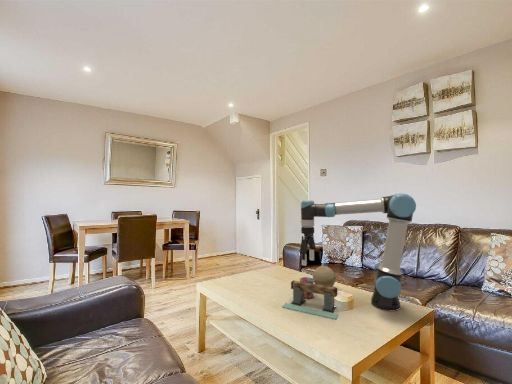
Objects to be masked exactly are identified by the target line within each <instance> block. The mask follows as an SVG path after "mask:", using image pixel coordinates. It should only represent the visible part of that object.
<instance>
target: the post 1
mask: <svg viewBox="0 0 512 384" xmlns="http://www.w3.org/2000/svg"><path fill="white" fill-rule="evenodd" d="M292 295H293V296H292V302H291V303H290V304H294V305H298V306H303V305H304V304H305V303H306V301H307V300H306V299H305V298H304V291H300V287H295V286H294V287H293V289H292Z"/></svg>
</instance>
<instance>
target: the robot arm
mask: <svg viewBox="0 0 512 384" xmlns="http://www.w3.org/2000/svg"><path fill="white" fill-rule="evenodd" d="M416 208H417V204H416V200H415V199H414V198H413V197H412V196H411V195H409V194H407V193H402V192H401V193H395V194H392V195H389V196H381V197H380V198H374V199H365V200H364V199H363V200H362V199H360V200H350V201H342V202H341V201H340V202H338V201H337V202H325V203H315V201H314V200H302V201H301V203H300V216H301V217H300V223H301V228H300V231H301V232H300V233H301V234H303V235H302V236H301V243H300V248H299V254H300V255H301V266H303V267H306V266H307V264H308V262H307V260H308V259H307V249H308V246H309V252H308V253H309V261H315V250H316V241H315V237H314V234H315V227H314V226H315V217H316V218H317V217H318V218H319V217H320V218H334V217H335V216H336V215H337V216H339V215H352V214H353V215H355V214H370V213H372V214H373V213H382V214H386V218H387V220H388V227H387V232H386V238H385V243H384V249H383V256H382V261H381V263H379V264H374V267H373V270H374V271H373V272H374V276H373V279H374V282H373V283H374V285H373V286H374V290H373V293H372V296H371V298H370V299H371V300H370V302H371V303H370V304H371V305H372V306H373V307H374V308H377V309H379V308H380V309H379V310H383V309H384V310H383V311H389V310H395V311H398V310H397V309H399V308H400V309H401V301H400V298H399V296H400V294H401V291H402V284H401V282H402V278H403V277H402V276H403V272H402V270H401V265H402V258H403V253H404V248H405V242H406V235H407V230H408V225H409V224H410V223H412V220H413V216H414V213H415V211H416ZM400 309H399V310H400Z"/></svg>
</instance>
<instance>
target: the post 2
mask: <svg viewBox="0 0 512 384" xmlns="http://www.w3.org/2000/svg"><path fill="white" fill-rule="evenodd" d="M334 306H335V297H333V296H332V293H329V292H324V295H323V308H322V309H321V310H322V311H326V312H331V313H335V310H337V307H334Z"/></svg>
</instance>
